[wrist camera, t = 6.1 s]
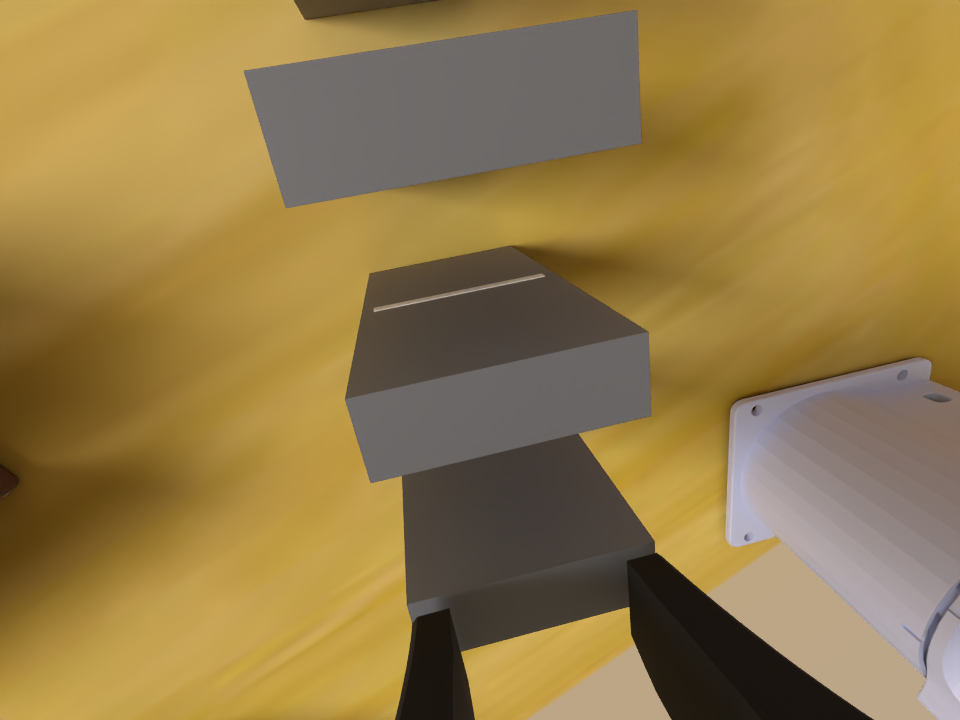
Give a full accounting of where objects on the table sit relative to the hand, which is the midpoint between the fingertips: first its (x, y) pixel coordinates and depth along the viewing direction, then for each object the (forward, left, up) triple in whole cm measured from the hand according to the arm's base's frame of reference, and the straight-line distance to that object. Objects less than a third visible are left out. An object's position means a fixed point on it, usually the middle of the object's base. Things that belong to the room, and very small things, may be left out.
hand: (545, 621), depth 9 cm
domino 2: (0, -4, -10) cm, 11 cm away
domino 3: (0, 0, -10) cm, 10 cm away
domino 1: (0, -9, -10) cm, 14 cm away
